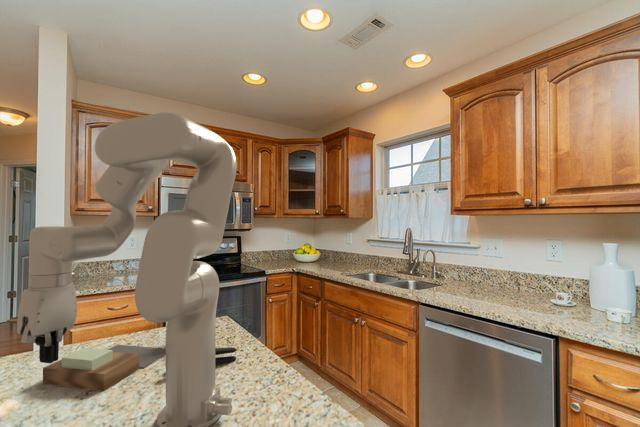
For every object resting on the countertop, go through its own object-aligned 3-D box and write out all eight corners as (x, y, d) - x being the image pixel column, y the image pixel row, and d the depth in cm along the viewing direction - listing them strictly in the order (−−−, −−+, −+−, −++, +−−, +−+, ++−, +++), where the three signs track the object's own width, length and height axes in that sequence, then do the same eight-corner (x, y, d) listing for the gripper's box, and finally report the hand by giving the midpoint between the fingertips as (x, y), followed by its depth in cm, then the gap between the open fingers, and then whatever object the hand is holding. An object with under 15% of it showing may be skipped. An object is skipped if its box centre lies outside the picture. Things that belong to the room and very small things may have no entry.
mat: (172, 350, 97) (172, 349, 97) (143, 368, 85) (144, 367, 85) (117, 345, 101) (117, 344, 101) (82, 362, 89) (82, 361, 89)
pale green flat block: (112, 359, 82) (112, 350, 82) (92, 370, 76) (92, 360, 76) (84, 356, 84) (84, 347, 84) (61, 367, 78) (61, 357, 78)
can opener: (169, 382, 78) (169, 359, 79) (167, 370, 85) (167, 349, 85) (240, 365, 87) (240, 345, 87) (233, 355, 93) (233, 336, 93)
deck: (139, 369, 85) (139, 354, 85) (104, 391, 74) (104, 374, 74) (84, 363, 88) (84, 349, 88) (42, 383, 78) (42, 367, 78)
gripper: (69, 273, 79) (67, 346, 79) (-2, 286, 65) (-4, 375, 65) (94, 275, 78) (92, 349, 78) (27, 289, 63) (25, 380, 63)
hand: (48, 361), depth 71 cm, fingers closed
